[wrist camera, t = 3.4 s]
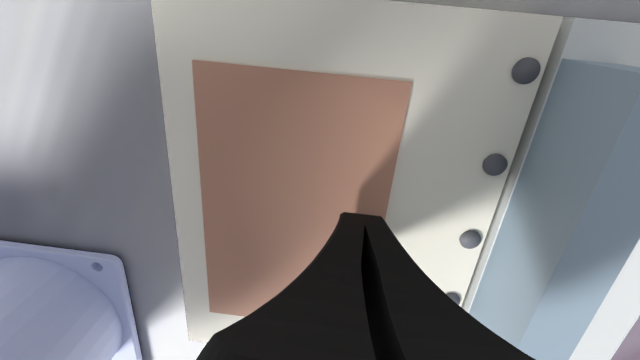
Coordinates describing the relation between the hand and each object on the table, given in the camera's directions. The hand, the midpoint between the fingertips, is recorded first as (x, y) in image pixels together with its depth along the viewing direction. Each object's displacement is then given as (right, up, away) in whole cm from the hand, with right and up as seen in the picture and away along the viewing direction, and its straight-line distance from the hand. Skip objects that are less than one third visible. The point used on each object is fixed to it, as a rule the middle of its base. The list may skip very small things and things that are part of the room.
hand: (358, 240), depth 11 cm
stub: (+8, 0, +2) cm, 8 cm away
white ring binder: (-1, +1, +2) cm, 3 cm away
